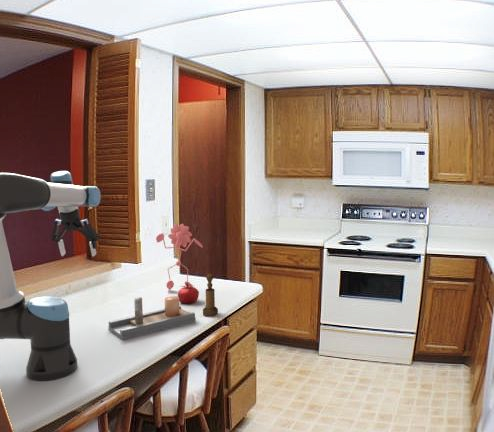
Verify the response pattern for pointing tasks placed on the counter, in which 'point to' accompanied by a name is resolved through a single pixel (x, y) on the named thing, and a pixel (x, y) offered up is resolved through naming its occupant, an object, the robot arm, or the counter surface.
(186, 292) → the pomegranate
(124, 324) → the track
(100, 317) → the counter surface
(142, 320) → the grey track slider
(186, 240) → the pink branching stem figurine
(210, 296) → the bronze statuette
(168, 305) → the canister
